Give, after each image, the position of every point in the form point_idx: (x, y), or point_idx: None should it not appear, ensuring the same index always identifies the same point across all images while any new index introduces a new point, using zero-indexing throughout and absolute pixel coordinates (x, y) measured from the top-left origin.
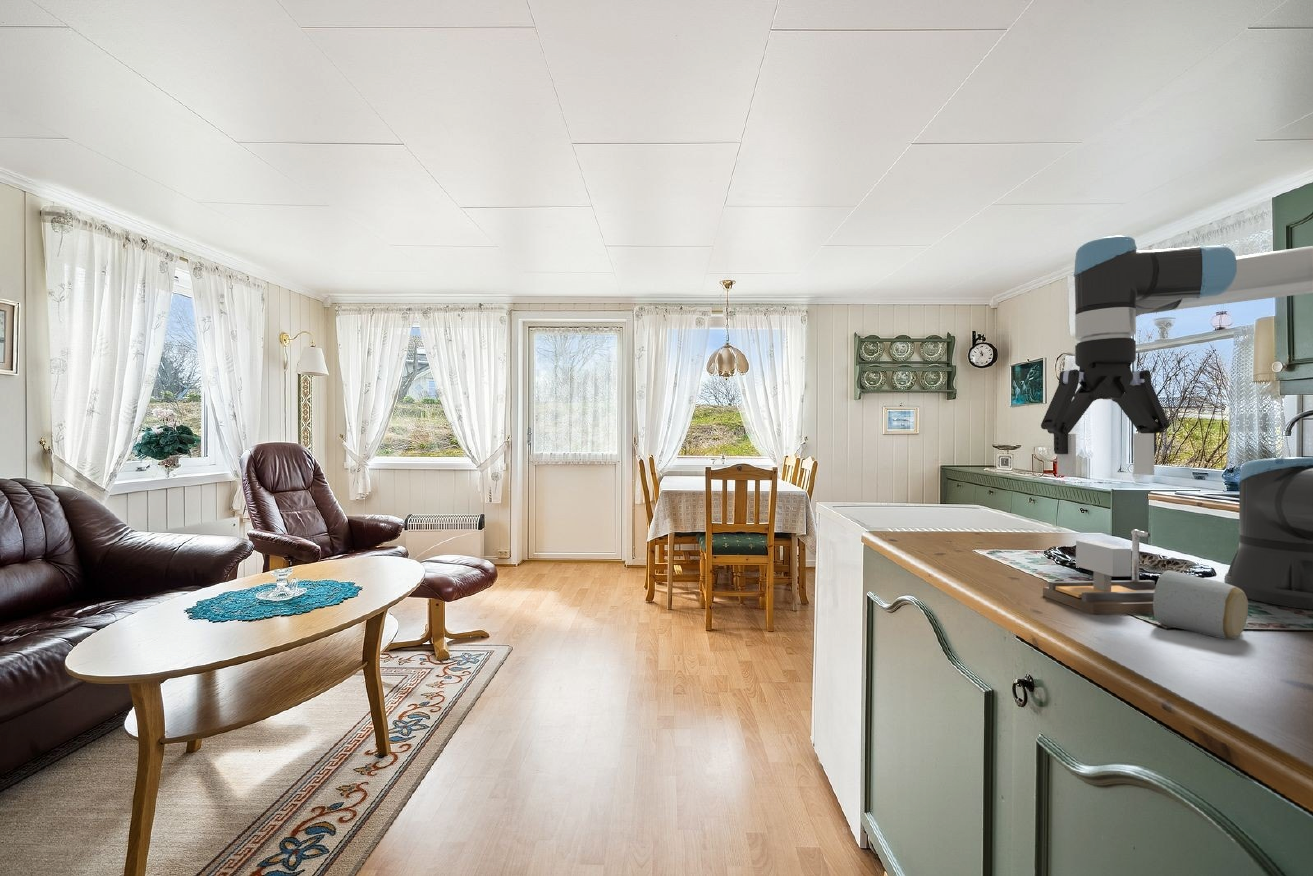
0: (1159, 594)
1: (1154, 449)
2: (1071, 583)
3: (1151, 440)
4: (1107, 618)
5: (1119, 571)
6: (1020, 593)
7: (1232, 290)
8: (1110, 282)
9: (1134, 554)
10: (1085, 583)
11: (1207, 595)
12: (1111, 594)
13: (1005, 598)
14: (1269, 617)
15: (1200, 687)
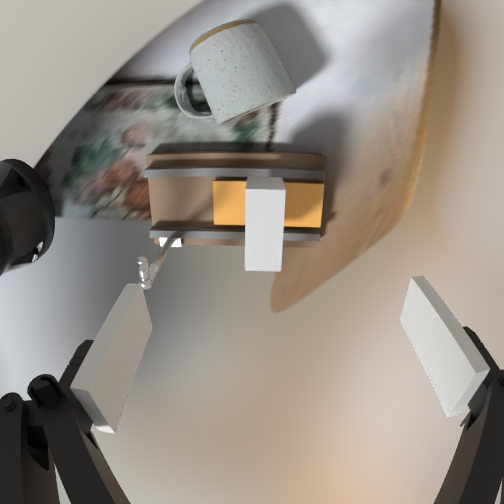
0: (293, 85)
1: (83, 349)
2: (288, 233)
3: (91, 365)
4: (317, 136)
5: (269, 179)
6: (334, 256)
7: None
8: None
9: (160, 261)
10: None
11: (263, 38)
12: (283, 169)
13: (375, 236)
14: (90, 134)
15: None
